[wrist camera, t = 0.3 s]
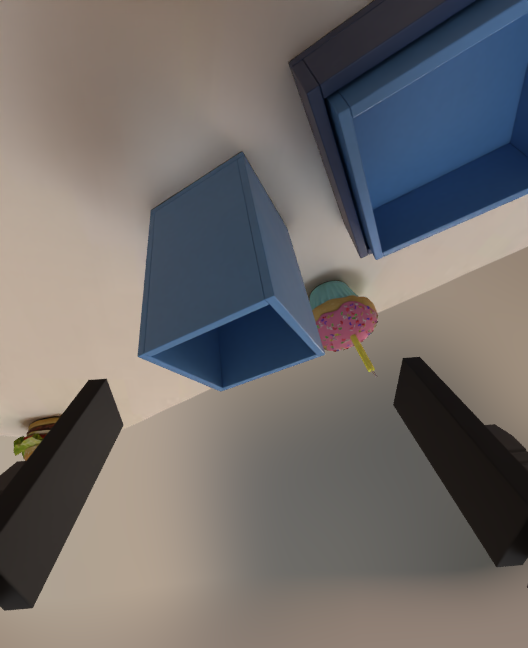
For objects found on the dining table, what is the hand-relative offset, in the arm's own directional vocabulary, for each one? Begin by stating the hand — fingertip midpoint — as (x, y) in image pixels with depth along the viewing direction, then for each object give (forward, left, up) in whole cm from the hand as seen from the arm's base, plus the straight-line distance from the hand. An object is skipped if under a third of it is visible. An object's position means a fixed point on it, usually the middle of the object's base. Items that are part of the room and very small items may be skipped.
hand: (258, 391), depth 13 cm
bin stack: (-1, +14, -17) cm, 22 cm away
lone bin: (+3, -1, -17) cm, 17 cm away
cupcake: (+17, +7, -17) cm, 25 cm away
